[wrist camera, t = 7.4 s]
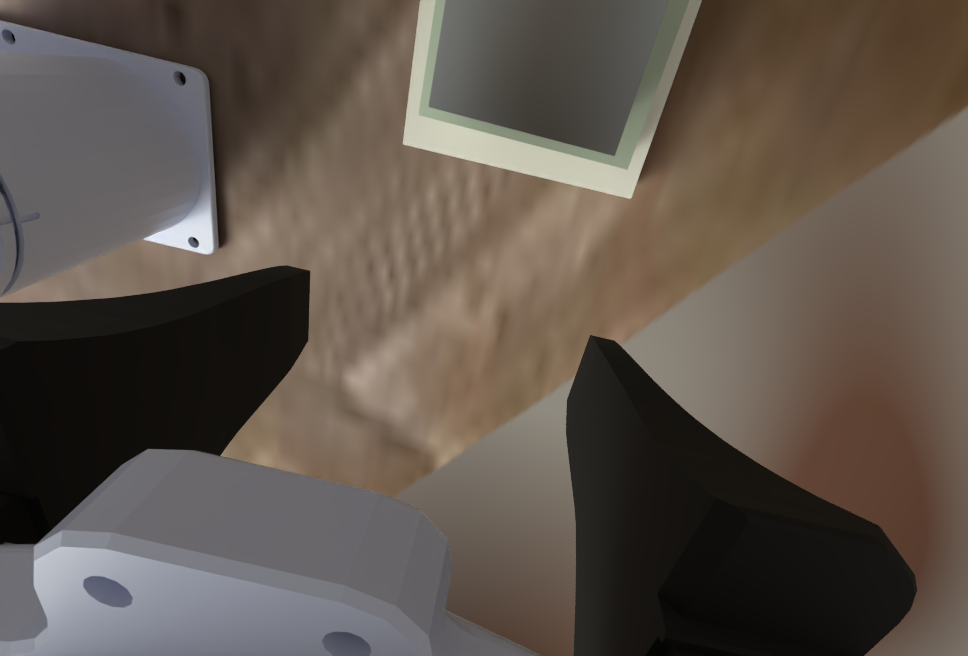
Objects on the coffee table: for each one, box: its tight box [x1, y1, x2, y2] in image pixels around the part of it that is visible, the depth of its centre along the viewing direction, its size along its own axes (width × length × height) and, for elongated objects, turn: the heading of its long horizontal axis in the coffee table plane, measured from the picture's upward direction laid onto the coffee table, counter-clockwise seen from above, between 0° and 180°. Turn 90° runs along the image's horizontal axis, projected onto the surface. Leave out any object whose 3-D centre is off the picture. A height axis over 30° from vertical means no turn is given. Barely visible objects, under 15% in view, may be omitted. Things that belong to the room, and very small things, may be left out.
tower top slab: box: [419, 0, 689, 170], centre depth 15 cm, size 7×7×2 cm
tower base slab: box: [403, 0, 702, 199], centre depth 17 cm, size 9×9×2 cm
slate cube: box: [428, 0, 669, 156], centre depth 12 cm, size 4×4×4 cm
